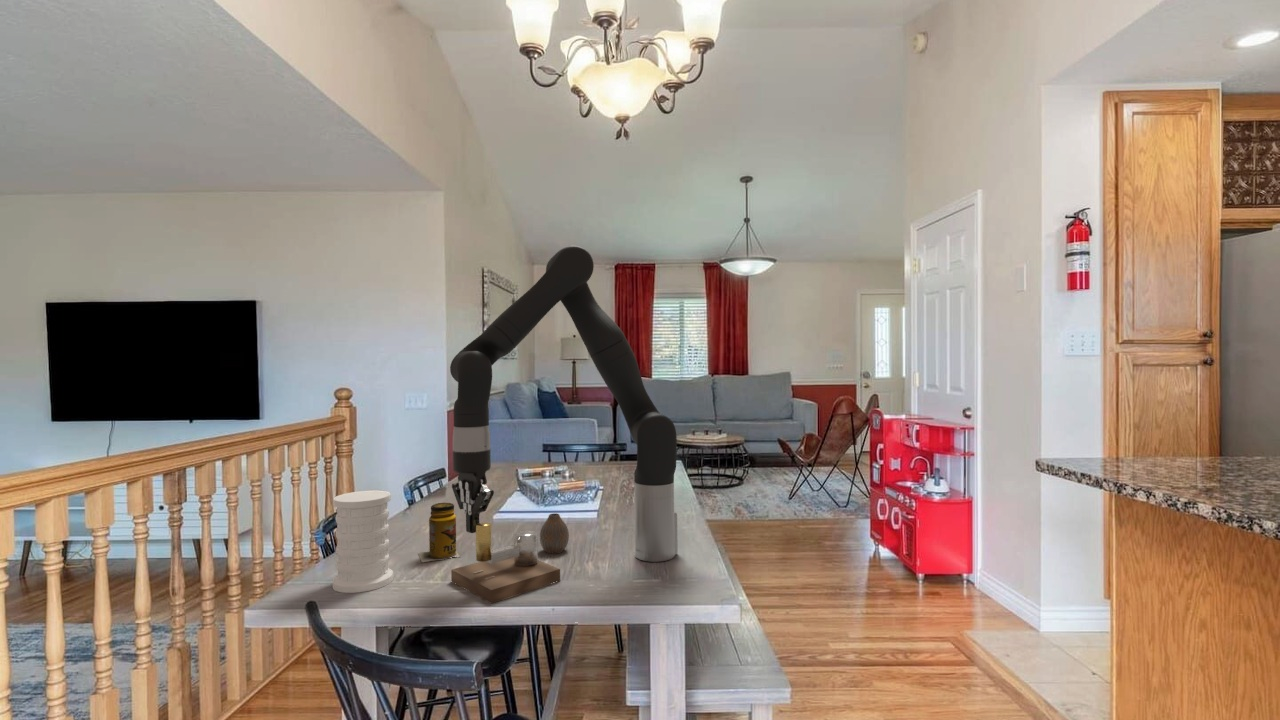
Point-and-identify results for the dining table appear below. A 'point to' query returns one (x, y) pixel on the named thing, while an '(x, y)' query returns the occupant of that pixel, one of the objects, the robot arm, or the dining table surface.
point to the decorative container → (362, 541)
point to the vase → (554, 534)
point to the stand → (503, 578)
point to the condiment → (441, 533)
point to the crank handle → (520, 551)
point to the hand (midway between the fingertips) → (472, 531)
